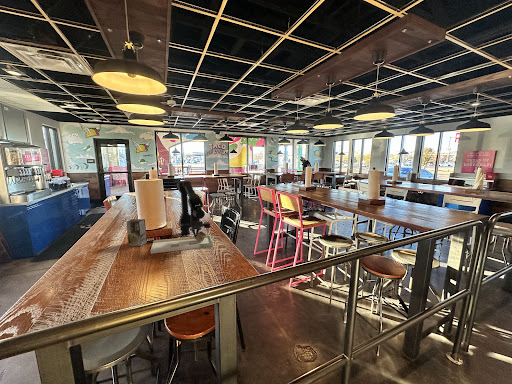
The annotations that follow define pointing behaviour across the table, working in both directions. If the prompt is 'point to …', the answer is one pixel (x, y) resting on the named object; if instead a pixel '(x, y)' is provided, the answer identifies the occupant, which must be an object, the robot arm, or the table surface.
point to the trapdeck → (180, 244)
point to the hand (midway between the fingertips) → (195, 238)
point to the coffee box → (136, 232)
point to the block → (200, 236)
